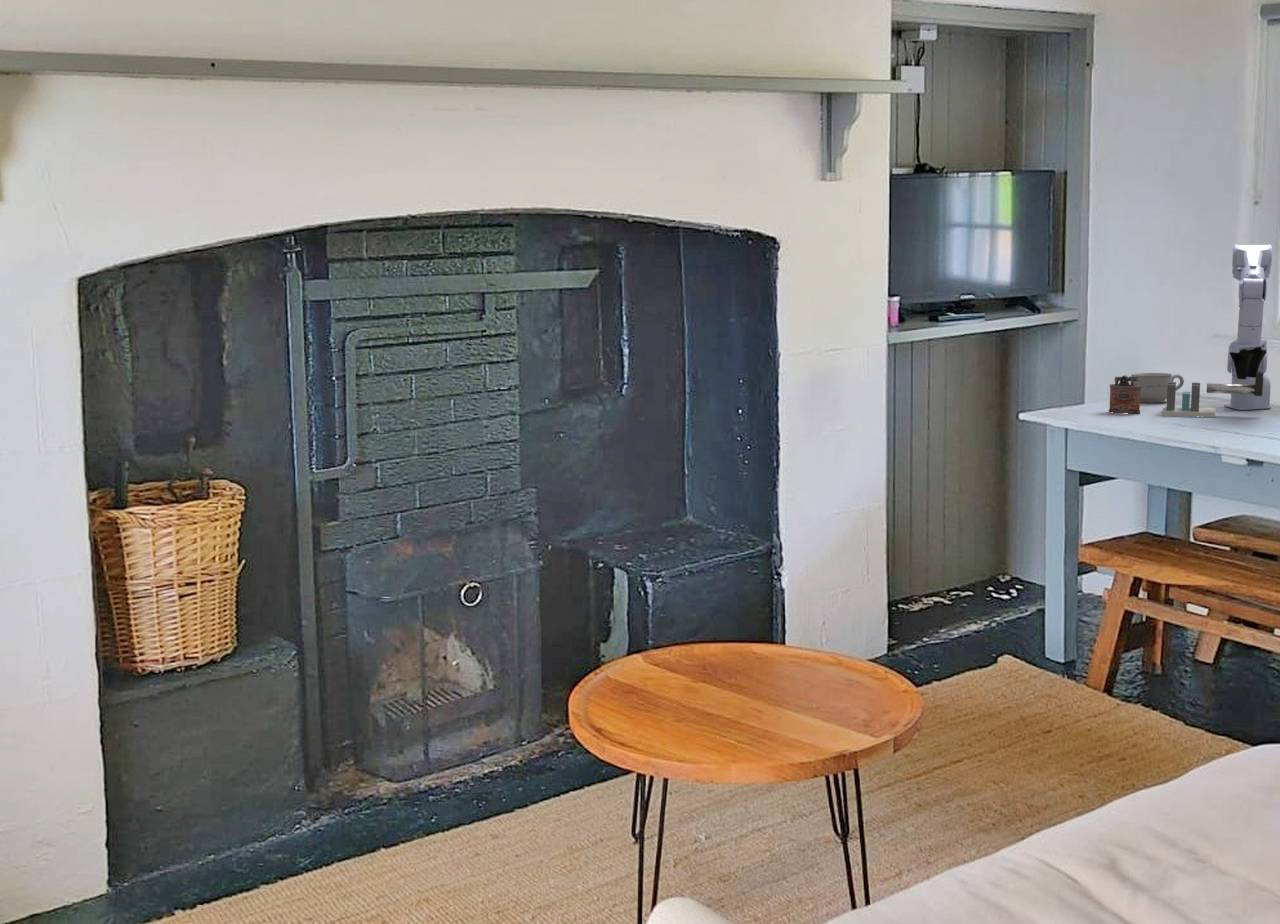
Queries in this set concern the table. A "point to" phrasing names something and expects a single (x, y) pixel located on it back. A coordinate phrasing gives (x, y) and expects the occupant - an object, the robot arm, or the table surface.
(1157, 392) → the teacup
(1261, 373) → the shaft
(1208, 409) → the shaft stand
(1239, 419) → the table surface
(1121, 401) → the lighter
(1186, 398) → the spacer
